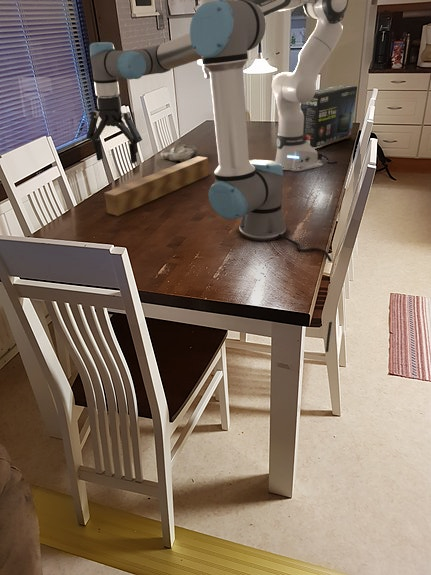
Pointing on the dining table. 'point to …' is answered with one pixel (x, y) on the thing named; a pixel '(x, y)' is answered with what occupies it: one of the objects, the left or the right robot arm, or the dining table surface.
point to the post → (155, 185)
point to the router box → (329, 114)
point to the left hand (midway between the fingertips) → (116, 161)
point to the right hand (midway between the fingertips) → (212, 79)
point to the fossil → (179, 152)
